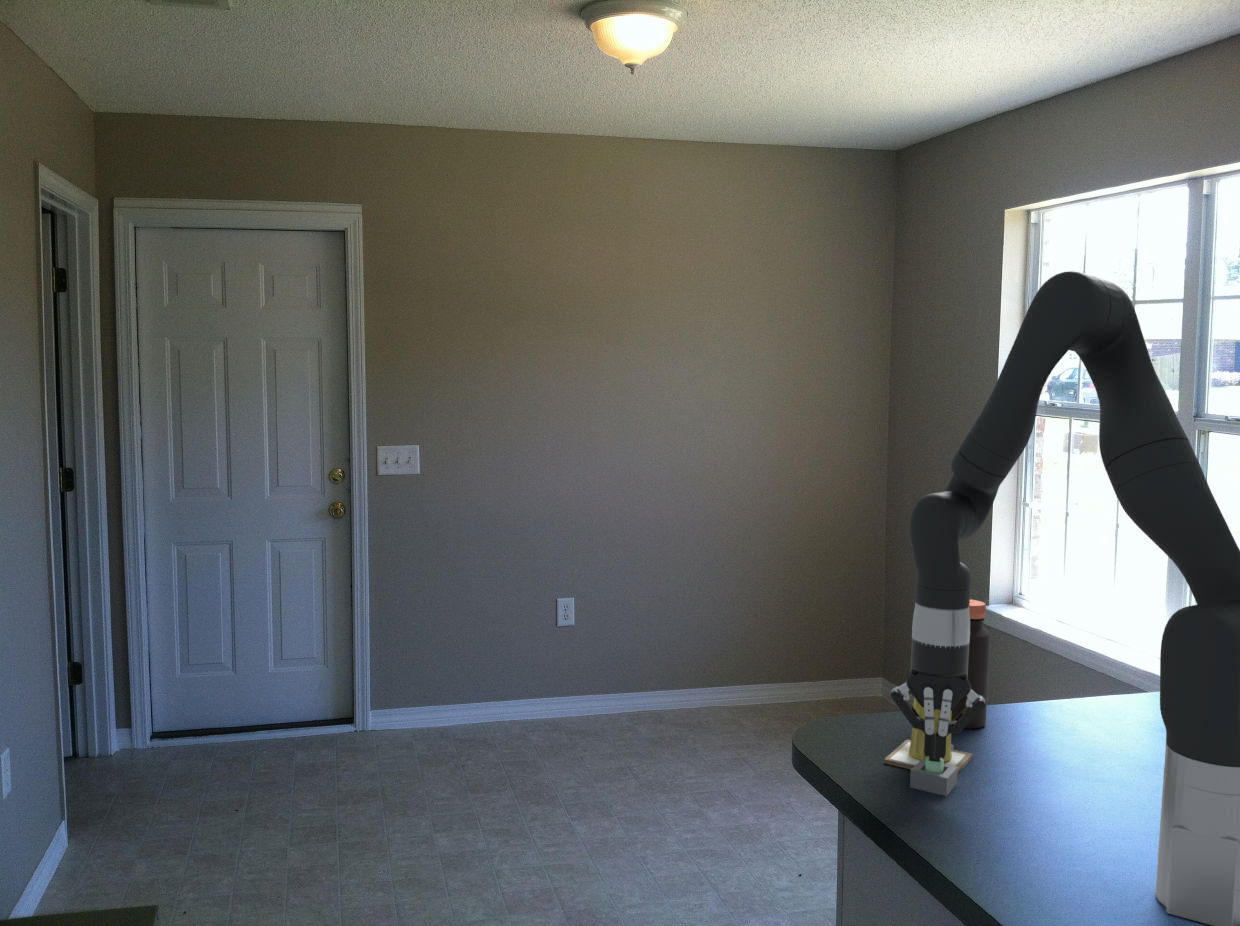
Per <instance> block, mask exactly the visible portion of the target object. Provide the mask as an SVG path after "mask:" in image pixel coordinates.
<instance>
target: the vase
mask: <svg viewBox="0 0 1240 926" xmlns="http://www.w3.org/2000/svg"><path fill="white" fill-rule="evenodd" d="M913 697H914V696H913ZM913 707H914V709H915V710H916V711H917V713H918V714H919V716H920V717H921V718H923V719H925V713H924V708H923V707H922V706H921V705H920V704H919V703H918V701H917V700H916V698H915V697H914V698H913ZM939 714H940V710H938V709H936V710H934V731H935V740H936V731H937V728H938V722H939ZM951 714H952V710H951V711H950V717H949V721H951ZM910 740H911V744H910V748H909V754H910V755H911V756H912V757H914V758H915V759H918V760H922V759H925V760H926V757H929V756H925V753H924V743H925V734H924V732H923V731H922V730H920V729H915V728H913V727H912V728H911V739H910ZM951 744H952V733H951V734H948V735H947V737H946V755H945V757H944V758H942V759H943V760H944V762H947V761H949V760H950V759H951V758H952V753H951Z"/></svg>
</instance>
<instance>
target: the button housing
mask: <svg viewBox="0 0 1240 926" xmlns="http://www.w3.org/2000/svg"><path fill="white" fill-rule="evenodd" d="M925 763H926V760H925V759H922V760H920V761H919V762H918V763H917V764H916V765H915V766H914V767H913V768H912V769H910V775H909V776H910V777H909V788H911V789H915V790H919V791H923V792H927V793H931V794H934V795H940V796H943V797H947V796H948V795H949V794H950V793H951V792H952V790H953V789H954V788H955V787H956V786H957V785H958V774H959V773H958V767H956V766H952V765H947V764H944V768H943V774H938V773H934V772H930V771H925Z"/></svg>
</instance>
